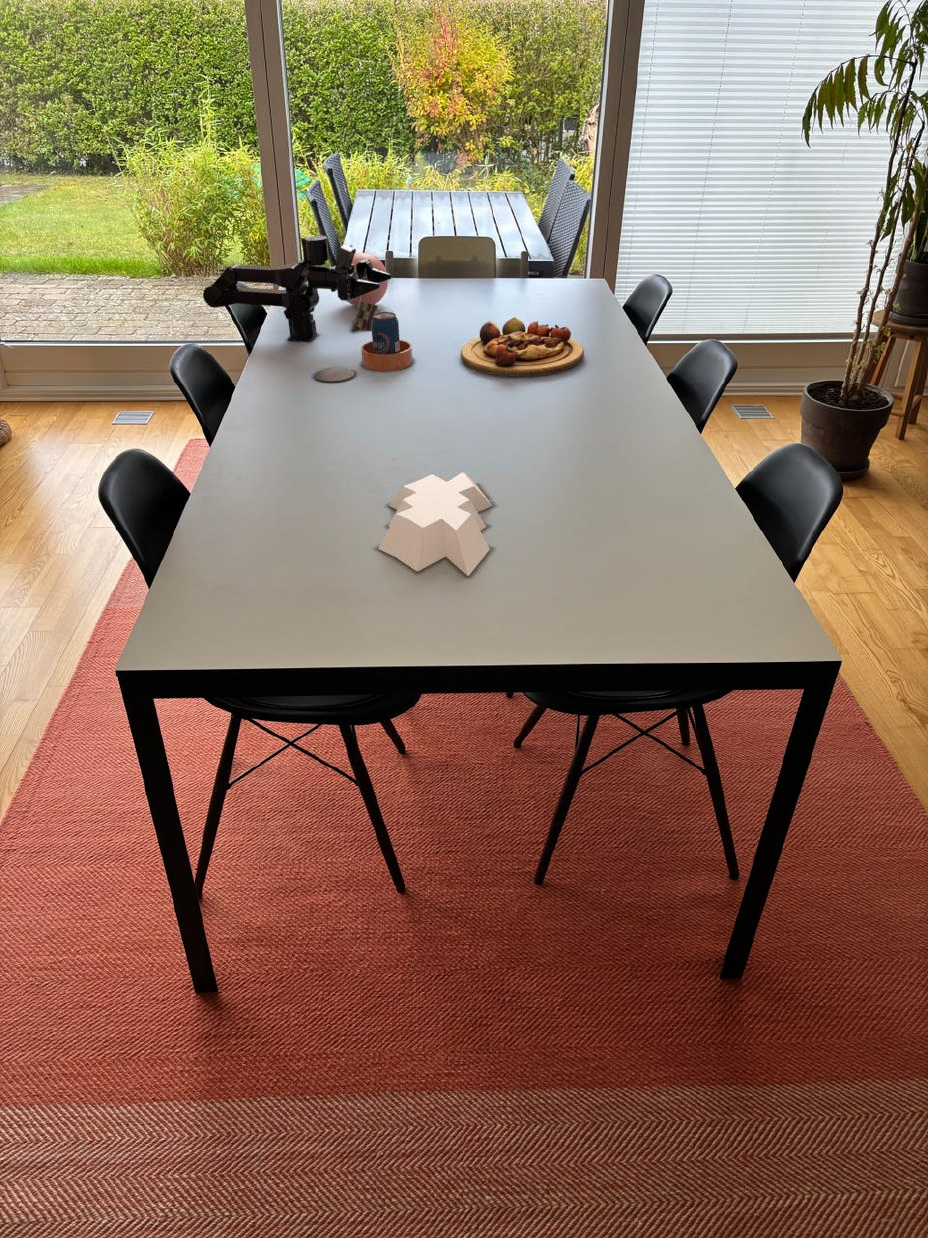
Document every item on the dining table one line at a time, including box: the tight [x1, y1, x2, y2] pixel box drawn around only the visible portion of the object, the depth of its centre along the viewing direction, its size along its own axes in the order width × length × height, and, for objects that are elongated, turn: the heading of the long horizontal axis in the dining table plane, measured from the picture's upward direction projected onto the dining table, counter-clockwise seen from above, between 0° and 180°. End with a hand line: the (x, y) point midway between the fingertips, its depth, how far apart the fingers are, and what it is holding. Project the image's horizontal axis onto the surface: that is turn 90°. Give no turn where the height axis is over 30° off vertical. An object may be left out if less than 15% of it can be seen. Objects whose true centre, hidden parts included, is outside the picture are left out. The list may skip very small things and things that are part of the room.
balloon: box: [346, 252, 389, 307], centre depth 292 cm, size 15×20×15 cm
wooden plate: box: [460, 316, 585, 377], centre depth 254 cm, size 32×32×8 cm
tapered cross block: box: [378, 471, 493, 577], centre depth 178 cm, size 35×20×6 cm, turn 177°
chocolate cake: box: [351, 297, 382, 331], centre depth 282 cm, size 10×7×12 cm
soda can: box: [371, 311, 401, 355], centre depth 251 cm, size 7×7×12 cm
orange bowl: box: [360, 339, 413, 372], centre depth 254 cm, size 13×13×4 cm
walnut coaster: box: [314, 367, 355, 384], centre depth 247 cm, size 10×10×1 cm
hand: (385, 281), depth 259 cm, fingers open, 9 cm apart
